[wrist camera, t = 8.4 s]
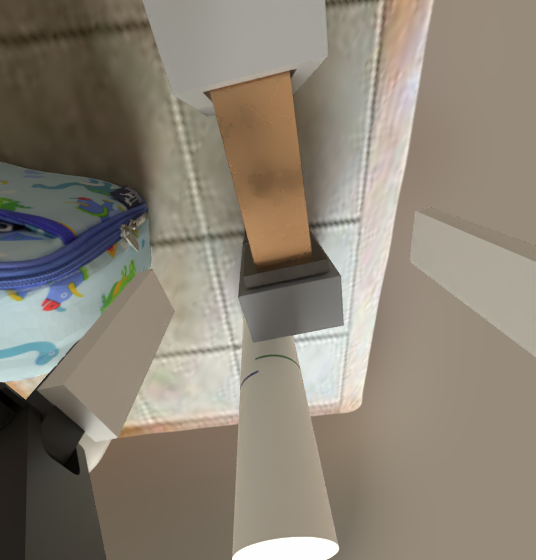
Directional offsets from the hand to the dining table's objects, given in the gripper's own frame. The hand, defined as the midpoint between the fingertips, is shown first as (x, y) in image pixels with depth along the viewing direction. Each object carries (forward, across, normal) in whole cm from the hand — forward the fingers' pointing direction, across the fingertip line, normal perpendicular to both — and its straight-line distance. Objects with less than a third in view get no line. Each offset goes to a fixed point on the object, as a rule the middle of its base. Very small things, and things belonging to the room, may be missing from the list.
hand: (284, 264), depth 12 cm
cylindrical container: (+19, -4, -18) cm, 27 cm away
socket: (+19, 0, -8) cm, 20 cm away
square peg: (+14, 0, +1) cm, 14 cm away
